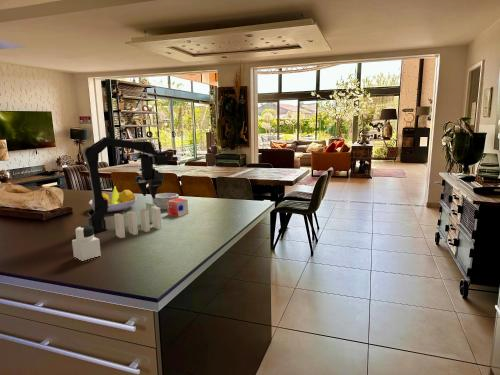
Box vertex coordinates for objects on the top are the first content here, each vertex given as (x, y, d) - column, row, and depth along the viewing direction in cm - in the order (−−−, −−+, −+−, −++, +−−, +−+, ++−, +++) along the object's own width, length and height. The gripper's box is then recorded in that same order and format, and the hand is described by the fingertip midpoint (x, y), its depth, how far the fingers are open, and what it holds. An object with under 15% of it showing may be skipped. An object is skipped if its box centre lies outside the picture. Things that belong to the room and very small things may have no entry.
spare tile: (151, 223, 172) (150, 203, 170) (147, 221, 176) (145, 202, 174) (155, 222, 174) (154, 203, 172) (150, 220, 177) (149, 201, 175)
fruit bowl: (128, 214, 190) (127, 194, 188) (80, 215, 191) (78, 195, 189) (145, 203, 218) (143, 185, 216) (103, 203, 218) (101, 186, 216)
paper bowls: (182, 205, 210) (181, 192, 209) (174, 211, 196) (173, 197, 194) (158, 204, 212) (157, 192, 210) (149, 211, 197) (148, 197, 196)
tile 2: (133, 235, 154) (131, 213, 152) (129, 232, 158) (127, 211, 156) (137, 234, 156) (136, 212, 154) (133, 231, 159) (131, 210, 157)
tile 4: (157, 229, 162) (156, 208, 160) (152, 227, 166) (151, 207, 164) (161, 228, 164) (160, 208, 162) (156, 226, 167) (155, 206, 165)
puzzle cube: (177, 211, 194) (176, 198, 193) (188, 213, 190) (187, 199, 189) (167, 215, 188) (166, 201, 186) (178, 216, 184) (177, 202, 182)
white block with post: (92, 252, 134) (89, 223, 132) (101, 256, 129) (98, 226, 127) (73, 258, 128) (70, 227, 126) (82, 262, 124) (78, 231, 122)
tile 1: (120, 238, 150) (118, 216, 148) (116, 235, 154) (114, 214, 152) (125, 237, 152) (123, 215, 150) (120, 234, 155) (118, 213, 153)
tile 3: (146, 232, 158) (144, 211, 156) (141, 229, 162) (139, 209, 160) (150, 231, 160) (148, 210, 158) (145, 228, 163) (143, 208, 161)
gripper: (171, 166, 169) (172, 197, 172) (152, 163, 182) (154, 192, 185) (150, 168, 161) (152, 200, 164) (132, 165, 174) (134, 195, 177)
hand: (149, 197), depth 173 cm, fingers open, 9 cm apart
